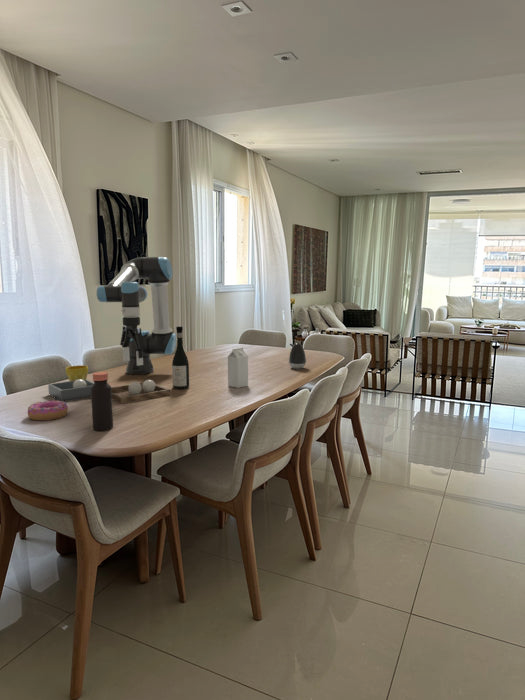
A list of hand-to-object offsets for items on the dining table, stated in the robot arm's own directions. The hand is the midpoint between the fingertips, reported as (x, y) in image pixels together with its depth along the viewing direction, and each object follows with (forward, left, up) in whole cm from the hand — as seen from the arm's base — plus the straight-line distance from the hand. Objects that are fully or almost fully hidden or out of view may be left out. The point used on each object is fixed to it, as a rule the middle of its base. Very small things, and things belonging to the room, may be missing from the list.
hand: (133, 363), depth 215 cm
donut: (+41, +10, -15) cm, 45 cm away
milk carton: (-47, +18, -15) cm, 52 cm away
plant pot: (+13, -34, -15) cm, 40 cm away
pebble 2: (0, 0, -15) cm, 15 cm away
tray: (0, 0, -15) cm, 15 cm away
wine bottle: (-24, +2, -15) cm, 28 cm away
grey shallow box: (+21, -17, -15) cm, 31 cm away
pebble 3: (-7, 0, -15) cm, 16 cm away
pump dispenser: (-103, +4, -15) cm, 104 cm away
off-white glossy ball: (+18, -17, -14) cm, 29 cm away
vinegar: (+31, +39, -15) cm, 52 cm away
